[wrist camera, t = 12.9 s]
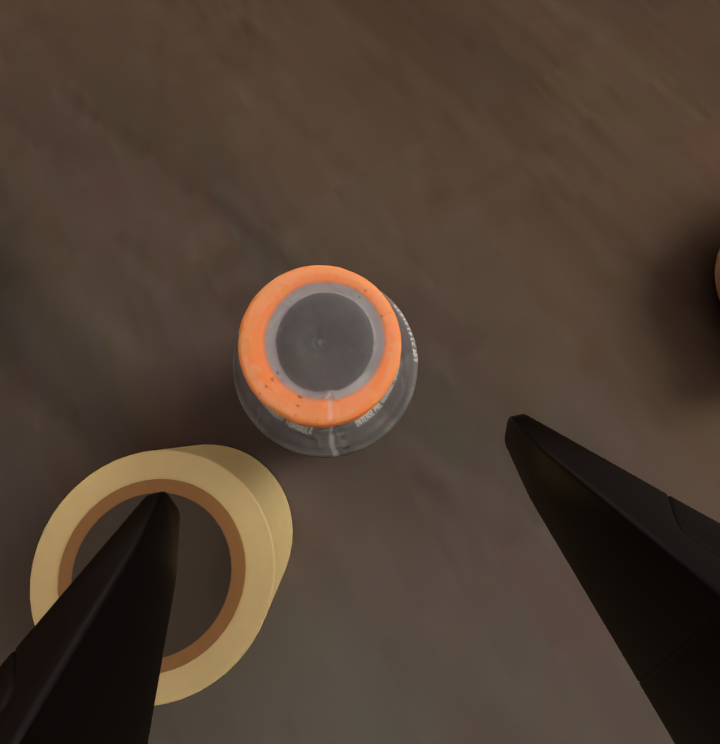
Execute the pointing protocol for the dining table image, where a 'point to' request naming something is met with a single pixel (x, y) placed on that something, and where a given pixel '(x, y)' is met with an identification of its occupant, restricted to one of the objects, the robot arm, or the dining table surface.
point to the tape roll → (183, 551)
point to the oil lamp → (717, 274)
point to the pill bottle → (324, 362)
